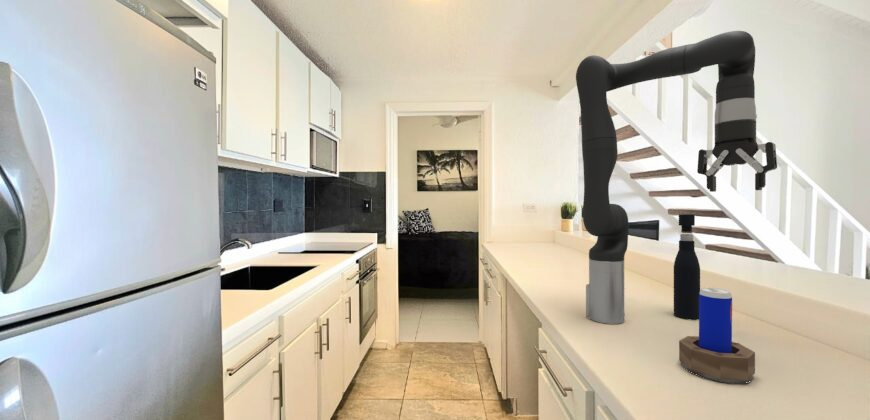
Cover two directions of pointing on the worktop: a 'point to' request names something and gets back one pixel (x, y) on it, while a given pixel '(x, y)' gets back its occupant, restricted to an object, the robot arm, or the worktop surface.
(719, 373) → the collar
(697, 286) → the wine bottle
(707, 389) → the worktop surface
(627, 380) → the worktop surface
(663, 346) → the worktop surface
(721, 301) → the beverage can
